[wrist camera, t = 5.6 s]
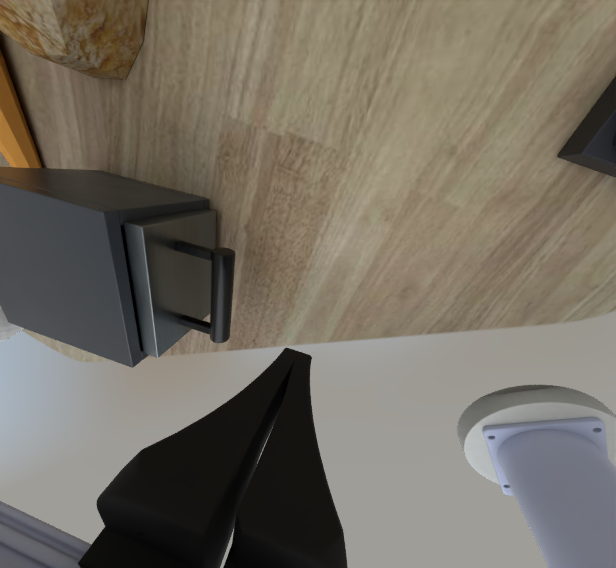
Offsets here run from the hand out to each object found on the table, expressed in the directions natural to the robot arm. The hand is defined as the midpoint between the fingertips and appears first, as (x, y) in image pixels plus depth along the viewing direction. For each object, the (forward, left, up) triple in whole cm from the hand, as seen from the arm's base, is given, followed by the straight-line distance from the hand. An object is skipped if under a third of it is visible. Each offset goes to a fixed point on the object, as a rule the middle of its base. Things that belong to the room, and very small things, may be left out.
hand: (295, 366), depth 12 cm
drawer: (+7, +10, -8) cm, 15 cm away
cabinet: (+10, +13, -9) cm, 19 cm away
